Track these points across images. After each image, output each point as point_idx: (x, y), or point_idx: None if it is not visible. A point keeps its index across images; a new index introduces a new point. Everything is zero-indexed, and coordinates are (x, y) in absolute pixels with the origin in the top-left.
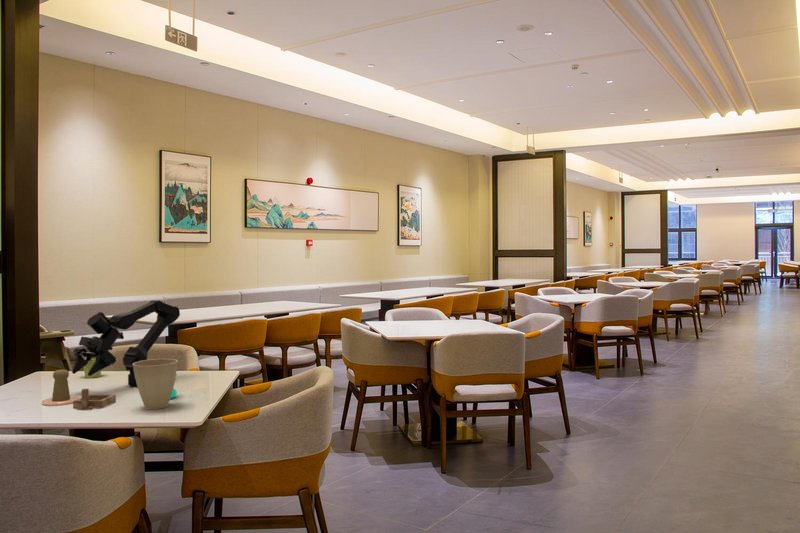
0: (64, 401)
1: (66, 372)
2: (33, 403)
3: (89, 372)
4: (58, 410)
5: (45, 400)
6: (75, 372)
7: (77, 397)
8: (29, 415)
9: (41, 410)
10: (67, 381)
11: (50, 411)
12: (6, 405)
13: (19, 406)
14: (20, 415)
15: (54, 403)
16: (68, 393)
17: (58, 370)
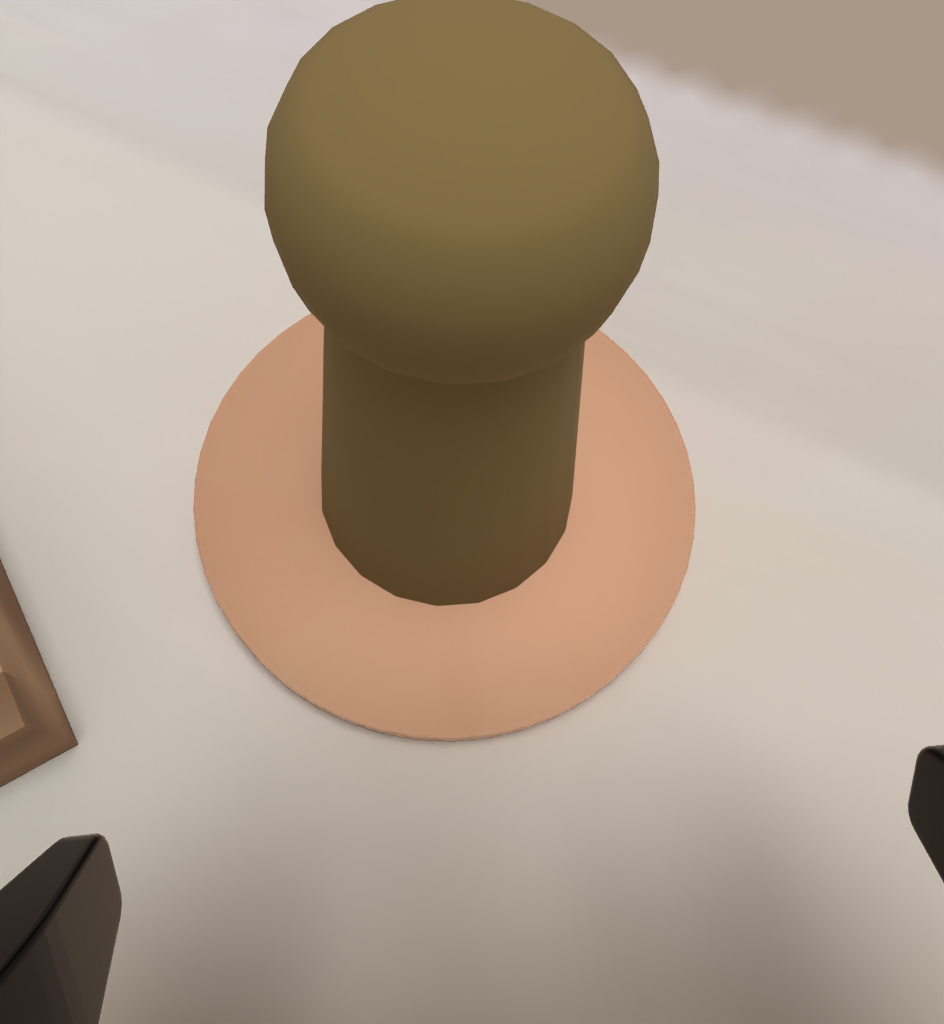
0: (290, 451)
1: (276, 182)
2: (673, 292)
3: (9, 884)
4: (16, 253)
5: (593, 359)
6: (941, 862)
7: (382, 711)
8: (119, 35)
9: (214, 173)
10: (360, 394)
11: (66, 192)
12: (805, 126)
13: None
14: (207, 5)
15: (301, 329)
16: (341, 502)
17: (450, 21)
